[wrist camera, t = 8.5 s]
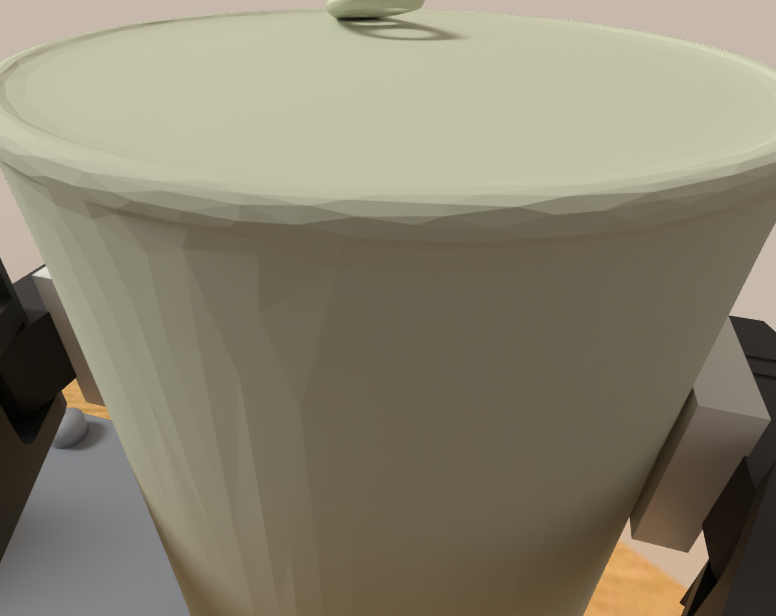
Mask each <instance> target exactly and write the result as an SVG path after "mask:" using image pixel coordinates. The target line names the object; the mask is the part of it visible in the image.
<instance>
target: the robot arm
mask: <svg viewBox="0 0 776 616" xmlns="http://www.w3.org/2000/svg"><path fill="white" fill-rule="evenodd" d="M75 378H76V380H77V382H78V384H79V387H80V389H81V391H82V393H83V396H84V398H85V400H86V402H88V403H92V404H96V405H100V406H104V407H106V405H105V403H104V401H103V398H102V396H101V394H100V391H99V389H98V387H97V384H96V382H95V380H94V377H93V375H92V373H91V370H90V368H89V366H88V363H87V361H86V358H85V356H84V354H83V351H82V349H81V347H80V344H79V342H78V340H77V337H76V335H75V333H74V330H73V328H72V326H71V323H70V321H69V319H68V316H67V314H66V312H65V309H64V307H63V305H62V302H61V300H60V297H59V295H58V293H57V290H56V288H55V286H54V283H53V281H52V279H51V276H50V274H49V272H48V269H47V267H46V265H45V264H44V265H42V266H41V267H39V268H37V269H36V270H34V271H33V272H31V273H29V274H28V275H26V276H25V277H23V278H21V279H20V280H18V281H17V282H15V283H13V284H12V283H11V280H10V278H9V276H8V274H7V272H6V269H5V267H4V265H3V263H2V261H1V259H0V563H1V560H2V558H3V556H4V553H5V551H6V549H7V546H8V544H9V542H10V540H11V537H12V535H13V533H14V530H15V528H16V526H17V523H18V521H19V519H20V516H21V514H22V512H23V509H24V507H25V505H26V503H27V500H28V498H29V496H30V493H31V491H32V489H33V486H34V484H35V482H36V479H37V477H38V475H39V473H40V470H41V468H42V466H43V463H44V461H45V459H46V456H47V454H48V452H49V449H50V447H51V445H52V442H53V440H54V438H55V436H56V433H57V431H58V429H59V426H60V424H61V422H62V419H63V417H64V415H65V412H66V406H67V402H66V400H65V398H64V396H63V393H62V390H63V389H64V388H65V387H66V386H67V385H68V384H69V383H70V382H72V381H73V380H74V379H75ZM630 526H631V536H632V539H635V540H639V541H643V542H647V543H651V544H655V545H659V546H663V547H667V548H671V549H675V550H679V551H683V552H687V553H688V552H689V550H690V549H691V547H692V546H693V544H694V542H695V541H696V539H697V538H698V536H699V534H700V533H701V531H702V530H703V533H704V537H705V542H706V546H707V551H708V555H709V560H708V561H707V563H706V564H705V566H704V567H703V568H702V570H701V571H700V573H699V575H698V576H697V577H696V579H695V580H694V582H693V584H692V585H691V586H690V588H689V589H688V591H687V592H686V594H685V595H684V597H683V598H682V600H681V601H680V604H682V605H683V606H685V608H684V610H683V613H682V615H681V616H776V332H775V331H774V330H773V329H772V328H771V327H769V326H768V325H767V324H766V323H765V322H764V321H759V320H753V319H746V318H741V317H734V316H728V317H727V319H726V321H725V323H724V325H723V327H722V329H721V331H720V333H719V335H718V337H717V339H716V341H715V343H714V345H713V347H712V349H711V351H710V353H709V355H708V357H707V359H706V361H705V363H704V365H703V367H702V369H701V371H700V373H699V375H698V377H697V379H696V381H695V383H694V385H693V387H692V389H691V391H690V393H689V395H688V397H687V399H686V401H685V403H684V405H683V407H682V409H681V411H680V413H679V415H678V417H677V419H676V421H675V423H674V425H673V427H672V429H671V431H670V433H669V435H668V437H667V439H666V441H665V443H664V445H663V447H662V449H661V451H660V453H659V455H658V457H657V459H656V462H655V464H654V466H653V468H652V470H651V472H650V474H649V476H648V478H647V481H646V483H645V485H644V487H643V489H642V491H641V493H640V495H639V497H638V500H637V502H636V504H635V506H634V508H633V510H632V512H631V514H630Z"/></svg>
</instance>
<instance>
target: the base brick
mask: <svg viewBox="0 0 776 616" xmlns="http://www.w3.org/2000/svg"><path fill="white" fill-rule="evenodd" d="M0 616H190V613H189V611H188V608H187V605H186V603H185V600H184V597H183V595H182V592H181V589H180V587H179V584H178V582H177V579H176V577H175V574H174V572H173V569H172V567H171V564H170V562H169V559H168V557H167V555H166V552H165V550H164V547H163V545H162V542H161V540H160V537H159V535H158V532H157V530H156V527H155V525H154V523H153V520H152V518H151V515H150V513H149V510H148V508H147V505H146V503H145V500H144V498H143V495H142V493H141V491H140V488H139V486H138V483H137V481H136V478H135V476H134V473H133V471H132V468H131V466H130V463H129V461H128V458H127V456H126V454H125V451H124V449H123V446H122V444H121V441H120V439H119V436H118V434H117V431H116V429H115V427H114V424H113V422H112V420H108V419H104V418H100V417H96V416H92V415H88V414H84V413H83V412H82V411H81V410H79V409H77V408H66V412H65V415H64V417H63V419H62V422H61V424H60V426H59V429H58V431H57V433H56V436H55V438H54V440H53V442H52V445H51V447H50V449H49V452H48V454H47V456H46V459H45V461H44V463H43V466H42V468H41V470H40V473H39V475H38V477H37V479H36V482H35V484H34V486H33V489H32V491H31V493H30V496H29V498H28V500H27V503H26V505H25V507H24V509H23V512H22V514H21V516H20V519H19V521H18V523H17V526H16V528H15V530H14V533H13V535H12V537H11V540H10V542H9V544H8V546H7V549H6V551H5V553H4V556H3V558H2V560H1V563H0Z"/></svg>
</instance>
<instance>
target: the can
mask: <svg viewBox="0 0 776 616" xmlns="http://www.w3.org/2000/svg"><path fill="white" fill-rule="evenodd" d="M423 3H424V0H329V1H328V2H327V3H326V6H325V7H326V9H298V10H297V9H296V10H274V11H254V12H238V13H225V14H214V15H202V16H192V17H180V18H172V19H165V20H157V21H149V22H142V23H135V24H130V25H124V26H118V27H113V28H108V29H101V30H96V31H91V32H87V33H83V34H79V35H74V36H70V37H66V38H63V39H59V40H55V41H52V42H49V43H46V44H43V45H40V46H36V47H33V48H30V49H28V50H25V51H23V52H21V53H18V54H16V55H14V56H11V57H9V58H7V59H5V60H4V61H2V62H1V63H0V168H1V170H2V171H3V174H4V175H5V178H6V180H7V182H8V184H9V186H10V189H11V191H12V193H13V195H14V197H15V199H16V202H17V203H18V206H19V208H20V210H21V212H22V215H23V217H24V219H25V221H26V223H27V225H28V227H29V230H30V232H31V234H32V236H33V238H34V240H35V242H36V245H37V247H38V249H39V251H40V253H41V255H42V258H43V260H44V262H45V265H46V267H47V269H48V272H49V274H50V276H51V279H52V281H53V283H54V286H55V288H56V290H57V293H58V295H59V297H60V300H61V302H62V305H63V307H64V309H65V312H66V314H67V316H68V319H69V321H70V323H71V326H72V328H73V330H74V333H75V335H76V337H77V340H78V342H79V344H80V347H81V349H82V351H83V354H84V356H85V358H86V361H87V363H88V366H89V368H90V370H91V373H92V375H93V377H94V380H95V382H96V384H97V387H98V389H99V391H100V394H101V396H102V398H103V401H104V403H105V405H106V408H107V410H108V412H109V415H110V417H111V419H112V422H113V424H114V427H115V429H116V431H117V434H118V436H119V439H120V441H121V444H122V446H123V449H124V451H125V454H126V456H127V458H128V461H129V463H130V466H131V468H132V471H133V473H134V476H135V478H136V481H137V483H138V486H139V488H140V491H141V493H142V495H143V498H144V500H145V503H146V505H147V508H148V510H149V513H150V515H151V518H152V520H153V523H154V525H155V527H156V530H157V532H158V535H159V537H160V540H161V542H162V545H163V547H164V550H165V552H166V555H167V557H168V559H169V562H170V564H171V567H172V569H173V572H174V574H175V577H176V579H177V582H178V584H179V587H180V589H181V592H182V595H183V597H184V600H185V603H186V605H187V608H188V611H189V613H190V616H583V615H584V612H585V610H586V608H587V606H588V604H589V601H590V599H591V597H592V595H593V592H594V590H595V588H596V586H597V584H598V582H599V580H600V578H601V575H602V573H603V571H604V569H605V567H606V565H607V563H608V561H609V559H610V556H611V554H612V552H613V550H614V548H615V546H616V544H617V542H618V540H619V538H620V535H621V533H622V531H623V529H624V527H625V524H626V523H627V521H628V519H629V516H630V514H631V512H632V510H633V508H634V506H635V504H636V502H637V500H638V497H639V495H640V493H641V491H642V489H643V487H644V485H645V483H646V481H647V478H648V476H649V474H650V472H651V470H652V468H653V466H654V464H655V462H656V459H657V457H658V455H659V453H660V451H661V449H662V447H663V445H664V443H665V441H666V439H667V437H668V435H669V433H670V431H671V429H672V427H673V425H674V423H675V421H676V419H677V417H678V415H679V413H680V411H681V409H682V407H683V405H684V403H685V401H686V399H687V397H688V395H689V393H690V391H691V389H692V387H693V385H694V383H695V381H696V379H697V377H698V375H699V373H700V371H701V369H702V367H703V365H704V363H705V361H706V359H707V357H708V355H709V353H710V351H711V349H712V347H713V345H714V343H715V341H716V339H717V337H718V335H719V333H720V331H721V329H722V327H723V325H724V323H725V321H726V319H727V317H728V315H729V313H730V311H731V309H732V307H733V305H734V303H735V301H736V299H737V297H738V295H739V293H740V291H741V289H742V287H743V285H744V283H745V281H746V279H747V277H748V275H749V273H750V271H751V269H752V267H753V265H754V263H755V261H756V259H757V257H758V255H759V253H760V251H761V249H762V247H763V245H764V243H765V241H766V239H767V237H768V236H769V234H770V232H771V230H772V228H773V226H774V225H775V223H776V68H774V67H771V66H769V65H767V64H765V63H763V62H760V61H757V60H754V59H751V58H748V57H745V56H743V55H739V54H736V53H734V52H730V51H727V50H723V49H719V48H715V47H711V46H707V45H703V44H700V43H696V42H691V41H688V40H684V39H678V38H674V37H669V36H664V35H658V34H654V33H648V32H643V31H637V30H631V29H625V28H619V27H612V26H606V25H599V24H592V23H585V22H577V21H569V20H560V19H550V18H539V17H529V16H518V15H507V14H493V13H481V12H465V11H446V10H445V11H444V10H420V9H419V8H421V7H422V5H423Z"/></svg>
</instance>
